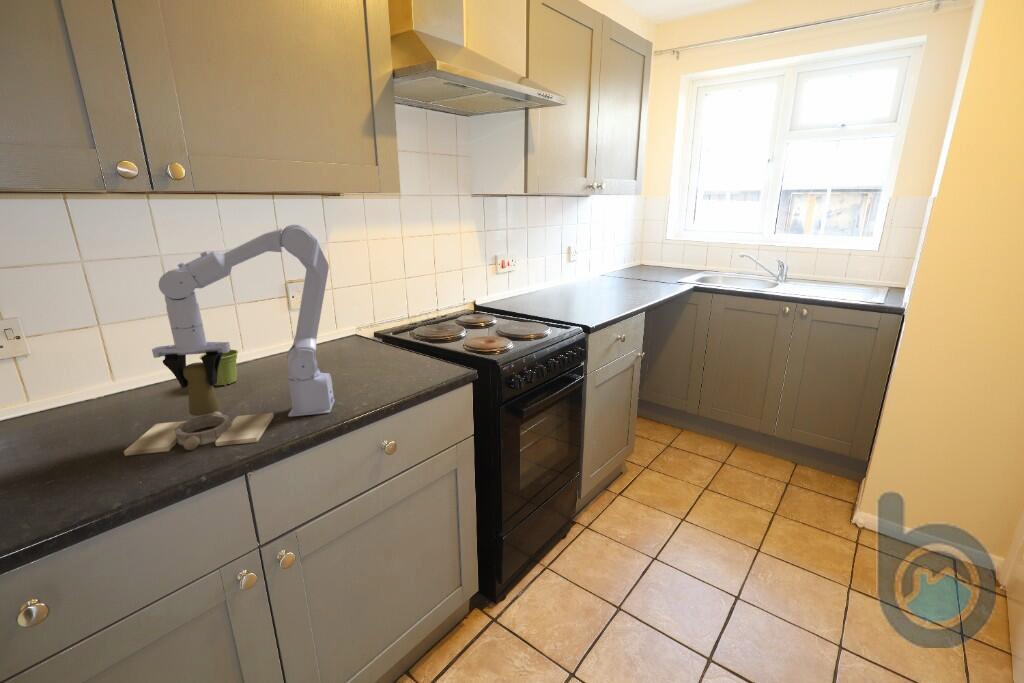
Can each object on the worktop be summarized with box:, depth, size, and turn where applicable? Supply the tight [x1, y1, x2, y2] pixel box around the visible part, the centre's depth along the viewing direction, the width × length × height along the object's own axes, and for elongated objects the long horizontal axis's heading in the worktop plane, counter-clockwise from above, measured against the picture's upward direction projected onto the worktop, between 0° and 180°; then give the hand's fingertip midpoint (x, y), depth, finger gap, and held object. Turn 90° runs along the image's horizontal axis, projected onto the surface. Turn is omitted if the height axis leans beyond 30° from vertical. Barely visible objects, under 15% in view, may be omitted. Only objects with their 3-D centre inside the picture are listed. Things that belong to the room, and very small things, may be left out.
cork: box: [183, 361, 221, 417], centre depth 107 cm, size 6×6×11 cm
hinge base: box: [123, 410, 275, 457], centre depth 105 cm, size 25×14×2 cm, turn 101°
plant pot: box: [199, 349, 239, 386], centre depth 136 cm, size 9×9×9 cm
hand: (199, 385), depth 106 cm, fingers closed on cork, 5 cm apart
